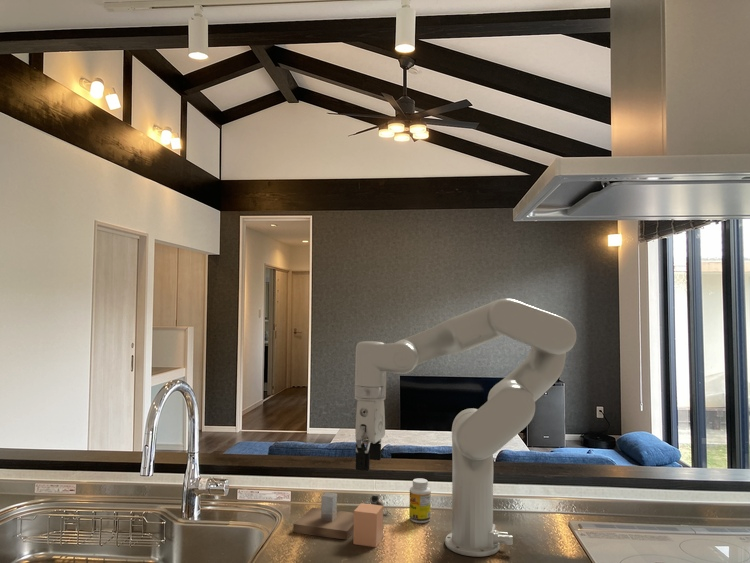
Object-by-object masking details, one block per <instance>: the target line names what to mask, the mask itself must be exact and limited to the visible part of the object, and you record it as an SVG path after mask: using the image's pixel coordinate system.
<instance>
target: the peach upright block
mask: <svg viewBox="0 0 750 563" xmlns="http://www.w3.org/2000/svg"><path fill="white" fill-rule="evenodd" d="M383 510H384V508H383V506H381V505H373V504H371V503H362V502H360V504H359V505H358V506H357V507H356V508H355V509H354V510H353V513H354V532H353V538H352V540H353V545H359V546H365V547H372V548H377V547H378V545H379V544H380V542H381V541H382V540H383V537H384V535H383V534H384V515H383Z"/></svg>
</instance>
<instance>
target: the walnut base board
mask: <svg viewBox="0 0 750 563" xmlns="http://www.w3.org/2000/svg"><path fill="white" fill-rule="evenodd" d="M292 527H293V529H292V530H293V532H292V533H296V534H304V535H312V536H317V537H324V538H333V539H338V540H348V539H349V538H350V537H351V536H352V534H354V512H352V511H343V510H337V517H336V518H335V519H334V520H333V521H324V520H321V508H318V507H317V508H316V507H312V508H311V507H310V509H309V510H308V511H306V512H305V514H303V515H302V516H301V517H300V518H298V520H296V521H295V522H294V523H293V525H292Z"/></svg>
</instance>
